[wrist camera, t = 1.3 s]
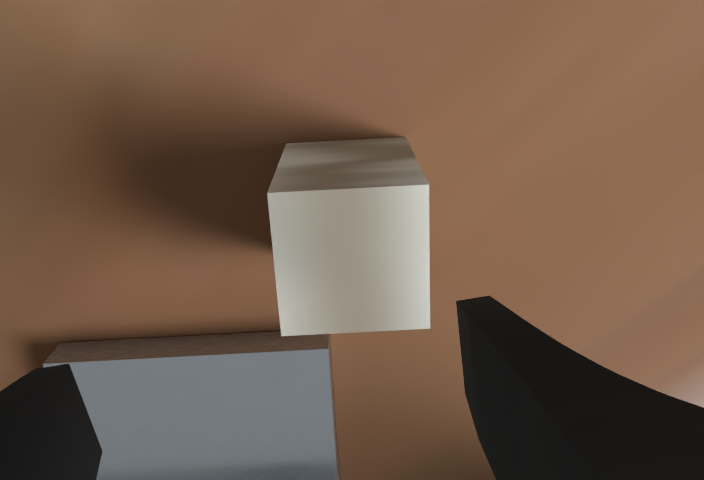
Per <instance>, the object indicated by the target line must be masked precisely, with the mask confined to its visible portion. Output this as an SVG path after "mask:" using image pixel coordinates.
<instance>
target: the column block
mask: <svg viewBox="0 0 704 480" xmlns="http://www.w3.org/2000/svg"><path fill="white" fill-rule="evenodd" d="M267 197H268V207H269V217H270V227H271V237H272V247H273V257H274V267H275V278H276V288H277V298H278V308H279V318H280V328H281V336H297V335H316V334H335V333H354V332H373V331H392V330H411V329H430V256H429V184H428V182H427V180H426V178H425V175H424V173H423V171H422V169H421V167H420V165H419V163H418V161H417V159H416V157H415V155H414V153H413V151H412V149H411V147H410V145H409V143H408V141H407V139H406V137H397V138H378V139H359V140H340V141H321V142H302V143H286V145H285V148H284V150H283V153H282V155H281V158H280V161H279V163H278V166H277V169H276V171H275V174H274V176H273V179H272V182H271V184H270V187H269V189H268V192H267Z"/></svg>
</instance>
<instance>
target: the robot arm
mask: <svg viewBox="0 0 704 480" xmlns="http://www.w3.org/2000/svg"><path fill="white" fill-rule="evenodd" d="M456 304H457V314H458V324H459V335H460V345H461V355H462V365H463V375H464V386H465V394H466V397H467V401H468V404H469V408H470V411H471V415H472V418H473V421H474V425H475V428H476V431H477V435H478V438H479V441H480V443H481V445H482V448H483V450H484V452H485V455H486V457H487V459H488V462H489V464H490V466H491V468H492V471H493V473H494V475H495V478H496V480H704V408H703V407H700V406H697V405H694V404H691V403H688V402H685V401H682V400H679V399H676V398H674V397H671V396H668V395H666V394H663V393H661V392H658V391H656V390H653V389H651V388H648V387H646V386H644V385H642V384H639V383H637V382H635V381H633V380H630V379H628V378H626V377H623V376H621V375H619V374H617V373H615V372H613V371H611V370H609V369H607V368H605V367H603V366H601V365H599V364H597V363H595V362H593V361H591V360H590V359H588V358H586V357H584V356H582V355H580V354H578V353H577V352H575V351H573V350H571V349H570V348H568V347H566V346H565V345H563V344H561V343H559V342H558V341H556V340H555V339H553V338H551V337H550V336H548V335H547V334H545V333H544V332H542V331H540V330H539V329H537V328H536V327H534V326H533V325H531V324H530V323H528V322H527V321H525V320H524V319H522V318H521V317H519V316H518V315H517V314H515V313H514V312H512V311H511V310H509V309H508V308H507V307H505V306H504V305H502V304H501V303H499V302H498V301H496V300H495V299H493V298H492V297H490V296H485V297H478V298H472V299H466V300H460V301H456ZM101 456H102V448H101V446H100V443H99V441H98V438H97V435H96V433H95V430H94V427H93V425H92V422H91V420H90V417H89V414H88V412H87V409H86V406H85V404H84V401H83V399H82V396H81V393H80V391H79V388H78V386H77V383H76V380H75V378H74V375H73V372H72V370H71V367H70V365H69V364H62V365H56V366H50V367H44V368H38V369H35V370H33V371H32V372H30V373H28V374H26V375H25V376H23V377H21V378H20V379H18V380H17V381H15V382H14V383H12V384H11V385H9V386H8V387H6V388H5V389H3V390H2V391H0V480H96V478H97V473H98V469H99V465H100V460H101Z"/></svg>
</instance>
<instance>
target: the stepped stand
mask: <svg viewBox="0 0 704 480" xmlns="http://www.w3.org/2000/svg"><path fill="white" fill-rule="evenodd" d="M62 364H69V365H70V367H71V370H72V372H73V375H74V378H75V380H76V383H77V386H78V388H79V391H80V393H81V396H82V399H83V401H84V404H85V406H86V409H87V412H88V414H89V417H90V420H91V422H92V425H93V427H94V430H95V433H96V435H97V438H98V441H99V443H100V446H101V448H102V456H101V460H100V465H99V469H98V473H97V478H96V480H339V467H338V452H337V438H336V424H335V409H334V395H333V380H332V366H331V351H330V337H329V334H316V335H297V336H281V331H272V332H253V333H234V334H215V335H196V336H177V337H159V338H140V339H121V340H102V341H83V342H64V343H59V345H58V346H57V347H56V348H55V350H54V351H53V352H52V353H51V354H50V356H49V357H48V358H47V359H46V360H45V362H44V363H43V368H44V367H50V366H56V365H62Z"/></svg>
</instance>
